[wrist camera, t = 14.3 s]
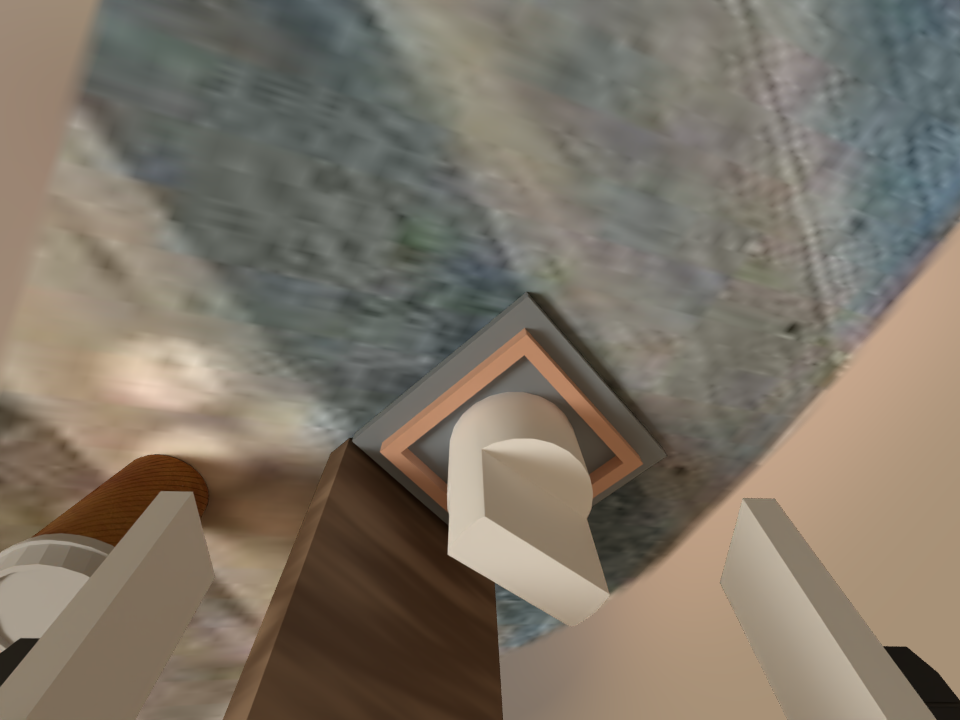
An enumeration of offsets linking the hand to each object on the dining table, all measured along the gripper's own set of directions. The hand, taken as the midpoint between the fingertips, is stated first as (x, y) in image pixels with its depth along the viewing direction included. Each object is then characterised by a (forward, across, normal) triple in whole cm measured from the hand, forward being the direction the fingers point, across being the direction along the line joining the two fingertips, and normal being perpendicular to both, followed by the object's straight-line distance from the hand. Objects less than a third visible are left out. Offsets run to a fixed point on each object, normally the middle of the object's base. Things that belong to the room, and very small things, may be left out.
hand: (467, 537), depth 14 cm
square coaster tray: (+24, +3, -13) cm, 27 cm away
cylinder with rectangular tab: (+23, +3, -13) cm, 26 cm away
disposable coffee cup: (+23, -23, -17) cm, 37 cm away
